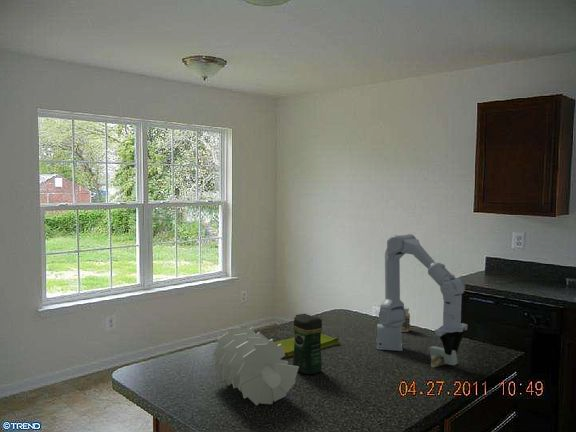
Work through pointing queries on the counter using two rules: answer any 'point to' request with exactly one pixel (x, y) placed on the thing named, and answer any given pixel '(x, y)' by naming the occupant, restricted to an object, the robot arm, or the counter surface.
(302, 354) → the coffee jar
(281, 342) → the dish towel
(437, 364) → the birch board
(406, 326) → the pill bottle
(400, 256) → the robot arm
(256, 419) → the counter surface
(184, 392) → the counter surface
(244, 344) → the spiral staircase
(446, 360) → the notched plate
